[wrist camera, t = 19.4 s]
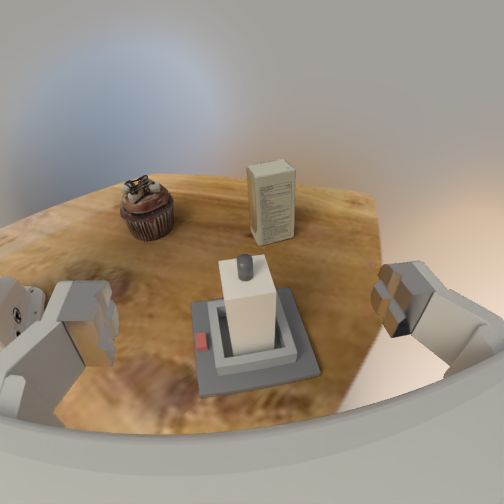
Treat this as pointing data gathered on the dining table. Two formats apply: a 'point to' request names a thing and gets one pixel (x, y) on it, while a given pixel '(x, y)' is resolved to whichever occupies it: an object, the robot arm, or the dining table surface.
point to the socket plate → (256, 364)
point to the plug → (249, 303)
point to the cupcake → (147, 209)
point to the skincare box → (271, 200)
